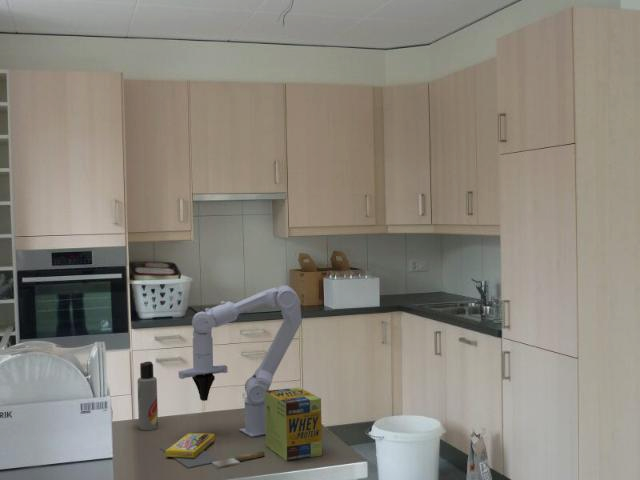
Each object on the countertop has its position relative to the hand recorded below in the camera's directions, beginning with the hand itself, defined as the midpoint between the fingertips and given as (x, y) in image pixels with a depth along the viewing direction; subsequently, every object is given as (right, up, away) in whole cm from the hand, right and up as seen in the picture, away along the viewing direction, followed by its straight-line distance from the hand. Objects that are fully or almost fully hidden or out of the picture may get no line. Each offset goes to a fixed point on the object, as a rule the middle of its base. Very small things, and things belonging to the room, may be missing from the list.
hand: (203, 399), depth 230 cm
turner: (+13, -11, -23) cm, 29 cm away
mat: (-2, -11, -17) cm, 21 cm away
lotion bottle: (-18, -11, +9) cm, 23 cm away
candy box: (+3, -10, -14) cm, 17 cm away
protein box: (+27, -11, -15) cm, 32 cm away
